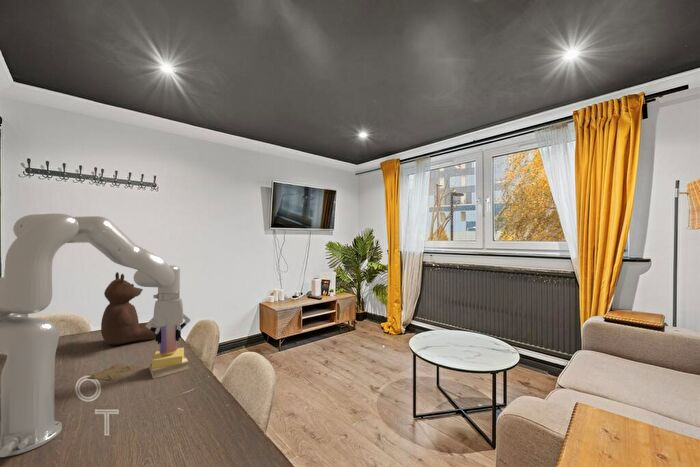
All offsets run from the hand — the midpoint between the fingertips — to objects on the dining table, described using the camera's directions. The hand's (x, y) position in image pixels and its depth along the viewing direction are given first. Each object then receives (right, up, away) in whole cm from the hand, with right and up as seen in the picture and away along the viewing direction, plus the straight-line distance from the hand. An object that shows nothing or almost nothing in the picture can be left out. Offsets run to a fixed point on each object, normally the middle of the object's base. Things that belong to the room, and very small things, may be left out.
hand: (168, 341), depth 119 cm
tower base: (0, -11, 0) cm, 11 cm away
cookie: (-19, -12, -3) cm, 23 cm away
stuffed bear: (-39, -12, +33) cm, 52 cm away
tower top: (0, -8, 0) cm, 8 cm away
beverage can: (0, -5, 0) cm, 5 cm away
